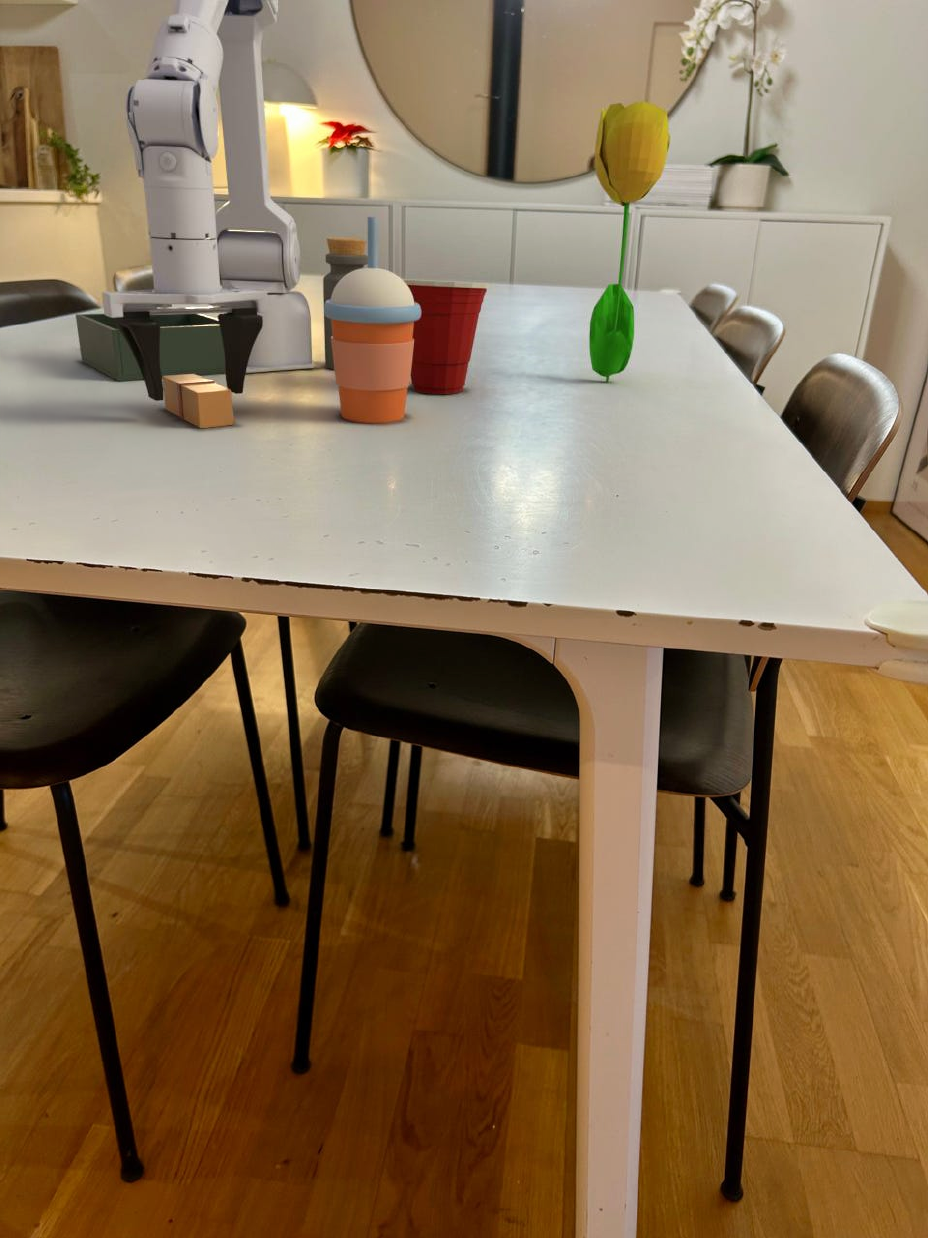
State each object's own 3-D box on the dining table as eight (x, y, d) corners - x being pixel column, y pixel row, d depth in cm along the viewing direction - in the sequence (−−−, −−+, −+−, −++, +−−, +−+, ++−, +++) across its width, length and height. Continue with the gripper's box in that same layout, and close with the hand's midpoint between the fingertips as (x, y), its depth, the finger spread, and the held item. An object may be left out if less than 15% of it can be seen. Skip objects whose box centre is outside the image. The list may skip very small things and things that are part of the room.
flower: (645, 390, 107) (681, 101, 95) (577, 387, 107) (604, 97, 95) (634, 377, 115) (666, 108, 103) (571, 374, 115) (595, 105, 103)
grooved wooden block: (198, 407, 90) (195, 372, 88) (234, 425, 83) (232, 388, 82) (164, 410, 88) (160, 374, 86) (199, 429, 81) (196, 391, 80)
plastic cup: (488, 383, 107) (494, 276, 102) (481, 401, 98) (486, 283, 93) (398, 378, 108) (399, 271, 103) (382, 395, 98) (382, 278, 93)
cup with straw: (405, 431, 84) (408, 219, 76) (312, 422, 85) (306, 214, 78) (428, 411, 92) (433, 218, 84) (343, 404, 94) (340, 214, 86)
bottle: (349, 372, 110) (347, 240, 104) (315, 366, 114) (311, 237, 107) (381, 367, 115) (381, 239, 108) (347, 361, 118) (345, 236, 111)
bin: (194, 354, 118) (190, 310, 116) (238, 372, 108) (235, 324, 106) (81, 361, 110) (75, 314, 108) (118, 381, 100) (111, 329, 98)
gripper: (112, 239, 72) (132, 410, 78) (279, 241, 80) (286, 396, 86) (87, 235, 77) (107, 395, 83) (246, 237, 85) (255, 383, 91)
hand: (196, 395), depth 85 cm, fingers open, 7 cm apart
